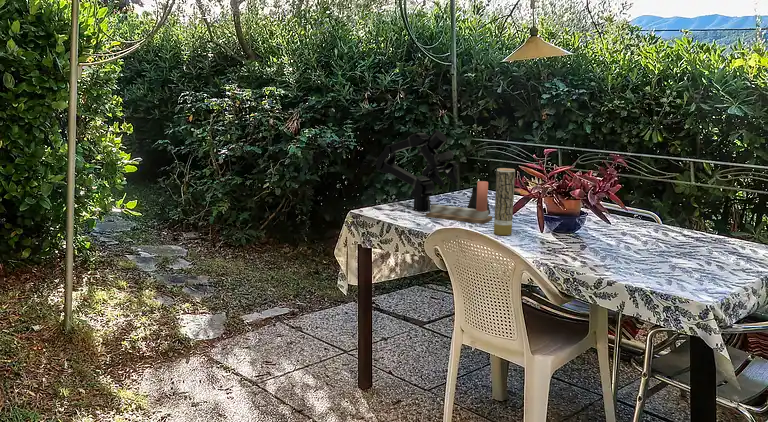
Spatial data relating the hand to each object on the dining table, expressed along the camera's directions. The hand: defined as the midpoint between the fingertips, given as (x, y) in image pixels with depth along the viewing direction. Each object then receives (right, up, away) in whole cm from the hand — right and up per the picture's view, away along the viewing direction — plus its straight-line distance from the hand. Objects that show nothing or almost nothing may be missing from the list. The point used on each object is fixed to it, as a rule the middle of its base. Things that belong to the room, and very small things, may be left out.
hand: (450, 184), depth 281 cm
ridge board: (+3, -14, -3) cm, 15 cm away
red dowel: (+12, -11, -8) cm, 18 cm away
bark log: (+17, -20, -29) cm, 39 cm away
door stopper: (+13, -12, +10) cm, 20 cm away
